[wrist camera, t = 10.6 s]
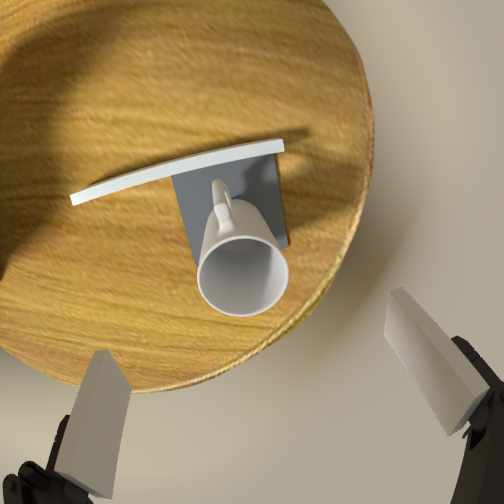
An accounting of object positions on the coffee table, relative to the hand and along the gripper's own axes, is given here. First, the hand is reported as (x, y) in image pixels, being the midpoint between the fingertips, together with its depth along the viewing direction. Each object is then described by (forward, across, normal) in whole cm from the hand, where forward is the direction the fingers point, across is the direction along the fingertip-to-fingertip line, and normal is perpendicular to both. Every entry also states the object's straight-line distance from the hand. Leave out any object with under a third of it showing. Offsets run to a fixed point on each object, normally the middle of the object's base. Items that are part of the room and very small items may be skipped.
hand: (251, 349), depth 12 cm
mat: (+21, 0, 0) cm, 21 cm away
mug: (+21, 0, 0) cm, 21 cm away
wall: (+21, -5, +6) cm, 23 cm away
